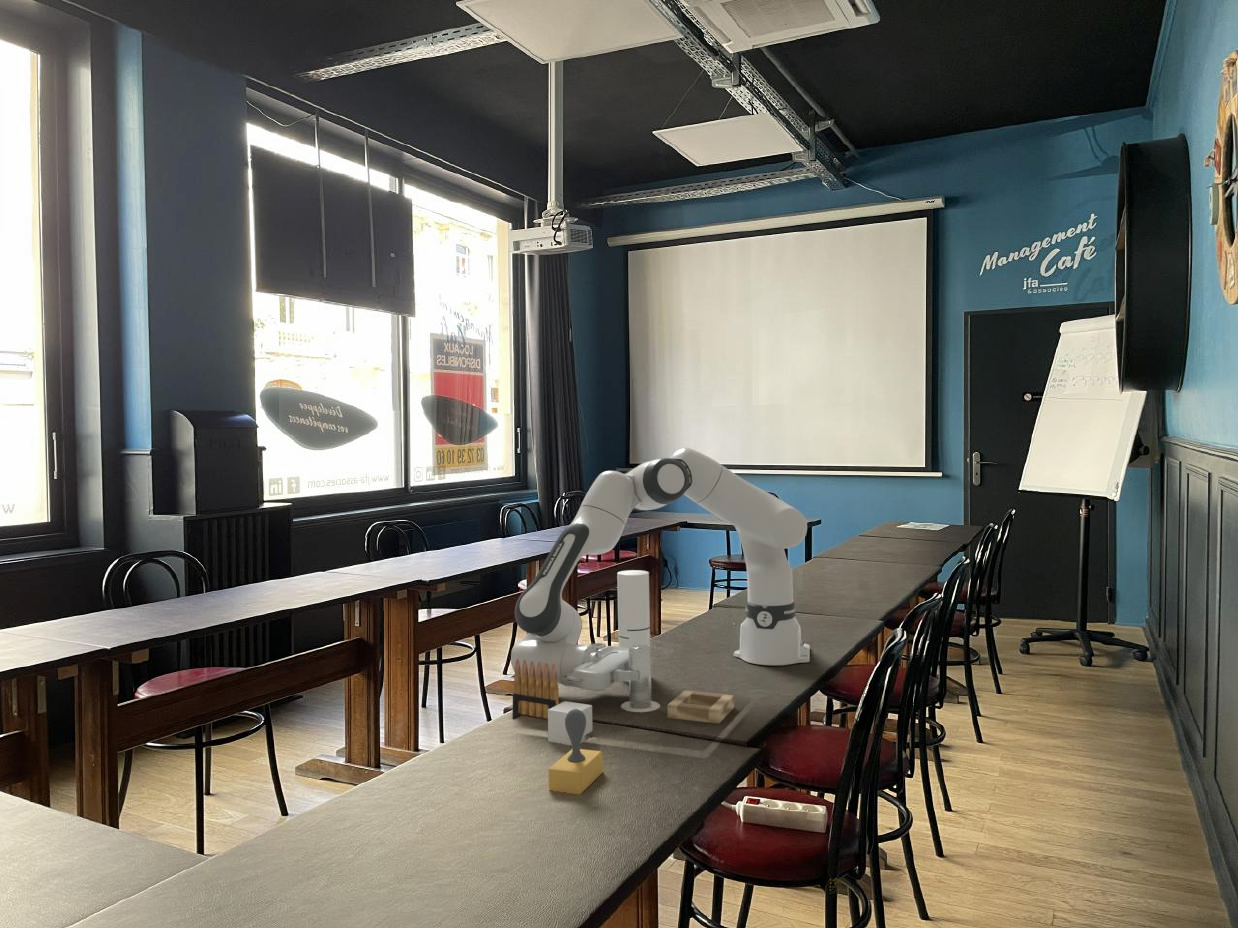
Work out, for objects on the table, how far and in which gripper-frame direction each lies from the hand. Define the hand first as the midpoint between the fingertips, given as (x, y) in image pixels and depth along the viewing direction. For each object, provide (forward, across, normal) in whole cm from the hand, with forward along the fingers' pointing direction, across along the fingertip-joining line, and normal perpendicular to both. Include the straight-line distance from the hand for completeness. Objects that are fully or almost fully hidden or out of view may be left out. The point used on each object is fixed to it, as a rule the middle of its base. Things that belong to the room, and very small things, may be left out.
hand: (644, 671), depth 185 cm
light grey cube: (-7, -20, +8) cm, 23 cm away
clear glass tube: (-1, 0, +7) cm, 7 cm away
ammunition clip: (-18, -13, +8) cm, 24 cm away
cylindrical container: (-10, +19, +8) cm, 23 cm away
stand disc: (-1, 0, +8) cm, 8 cm away
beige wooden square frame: (+12, 0, +8) cm, 15 cm away
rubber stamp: (+3, -38, +8) cm, 39 cm away
